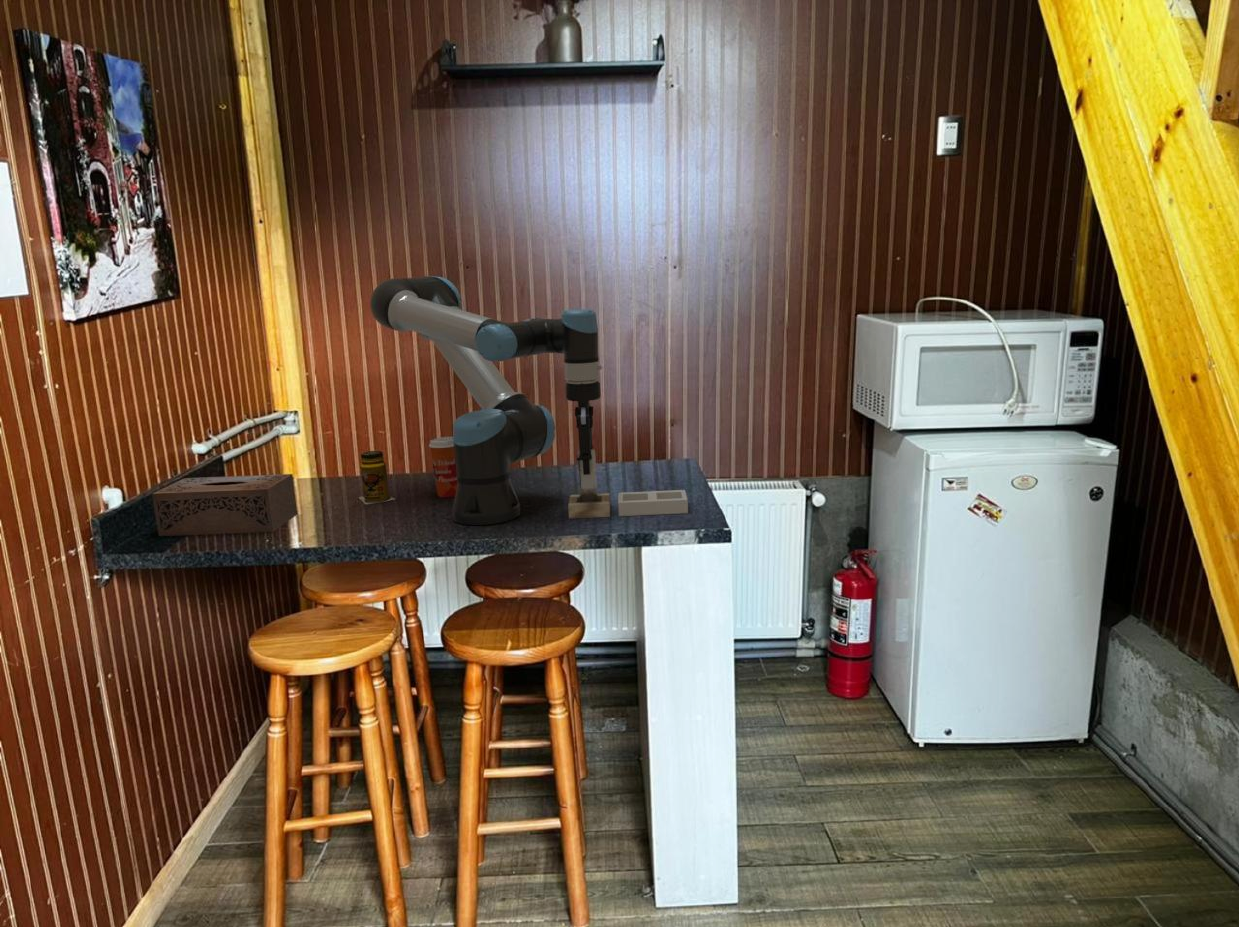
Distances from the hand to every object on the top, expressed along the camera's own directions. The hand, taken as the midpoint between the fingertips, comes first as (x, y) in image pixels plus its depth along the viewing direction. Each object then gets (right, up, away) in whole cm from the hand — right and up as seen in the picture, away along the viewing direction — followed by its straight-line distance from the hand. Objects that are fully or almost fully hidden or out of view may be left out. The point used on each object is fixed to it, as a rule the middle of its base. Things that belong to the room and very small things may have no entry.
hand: (587, 485), depth 202 cm
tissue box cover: (-82, -10, +5) cm, 83 cm away
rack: (+14, -5, +1) cm, 16 cm away
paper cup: (-35, -3, +23) cm, 42 cm away
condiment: (-53, -4, +22) cm, 58 cm away
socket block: (0, -6, +1) cm, 6 cm away
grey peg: (0, -5, +1) cm, 5 cm away
